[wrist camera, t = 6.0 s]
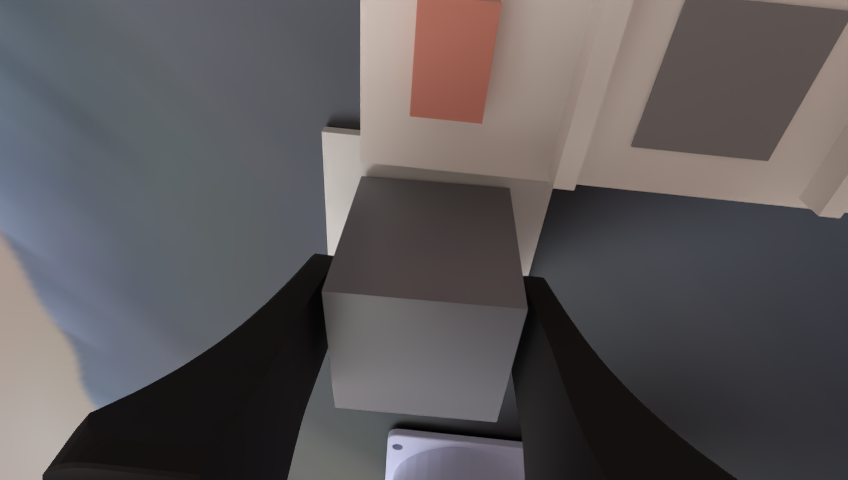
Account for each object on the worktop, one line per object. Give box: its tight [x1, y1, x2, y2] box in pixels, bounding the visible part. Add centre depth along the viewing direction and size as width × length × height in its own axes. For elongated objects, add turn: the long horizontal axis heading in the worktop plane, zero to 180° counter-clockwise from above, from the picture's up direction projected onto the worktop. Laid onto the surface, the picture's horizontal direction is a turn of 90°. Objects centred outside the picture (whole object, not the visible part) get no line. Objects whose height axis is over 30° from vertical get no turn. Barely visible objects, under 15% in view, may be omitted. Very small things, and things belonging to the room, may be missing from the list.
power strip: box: [360, 0, 848, 218], centre depth 10 cm, size 6×20×6 cm, turn 85°
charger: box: [322, 176, 528, 422], centre depth 13 cm, size 4×5×5 cm
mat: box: [322, 127, 553, 276], centre depth 16 cm, size 7×7×1 cm
